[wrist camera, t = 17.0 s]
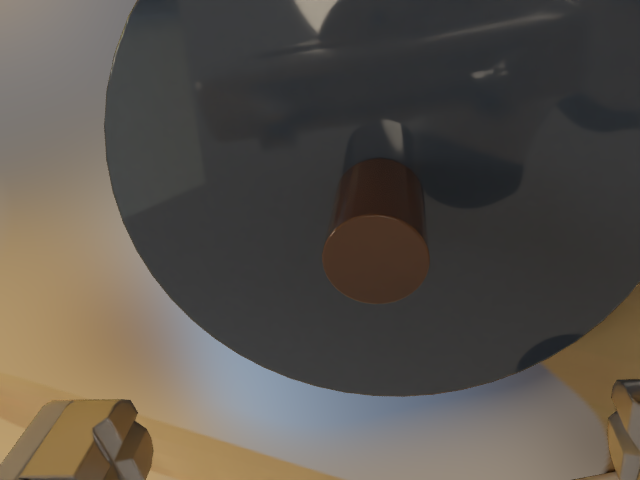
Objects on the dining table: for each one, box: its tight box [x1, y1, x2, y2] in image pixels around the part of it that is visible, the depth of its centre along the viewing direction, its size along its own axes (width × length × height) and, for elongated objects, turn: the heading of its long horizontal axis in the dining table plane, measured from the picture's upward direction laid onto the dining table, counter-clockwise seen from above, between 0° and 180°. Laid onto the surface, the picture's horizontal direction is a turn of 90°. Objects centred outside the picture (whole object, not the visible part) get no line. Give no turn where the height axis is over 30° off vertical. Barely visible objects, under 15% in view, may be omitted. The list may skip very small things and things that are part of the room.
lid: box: [104, 0, 640, 396], centre depth 14 cm, size 17×17×5 cm
